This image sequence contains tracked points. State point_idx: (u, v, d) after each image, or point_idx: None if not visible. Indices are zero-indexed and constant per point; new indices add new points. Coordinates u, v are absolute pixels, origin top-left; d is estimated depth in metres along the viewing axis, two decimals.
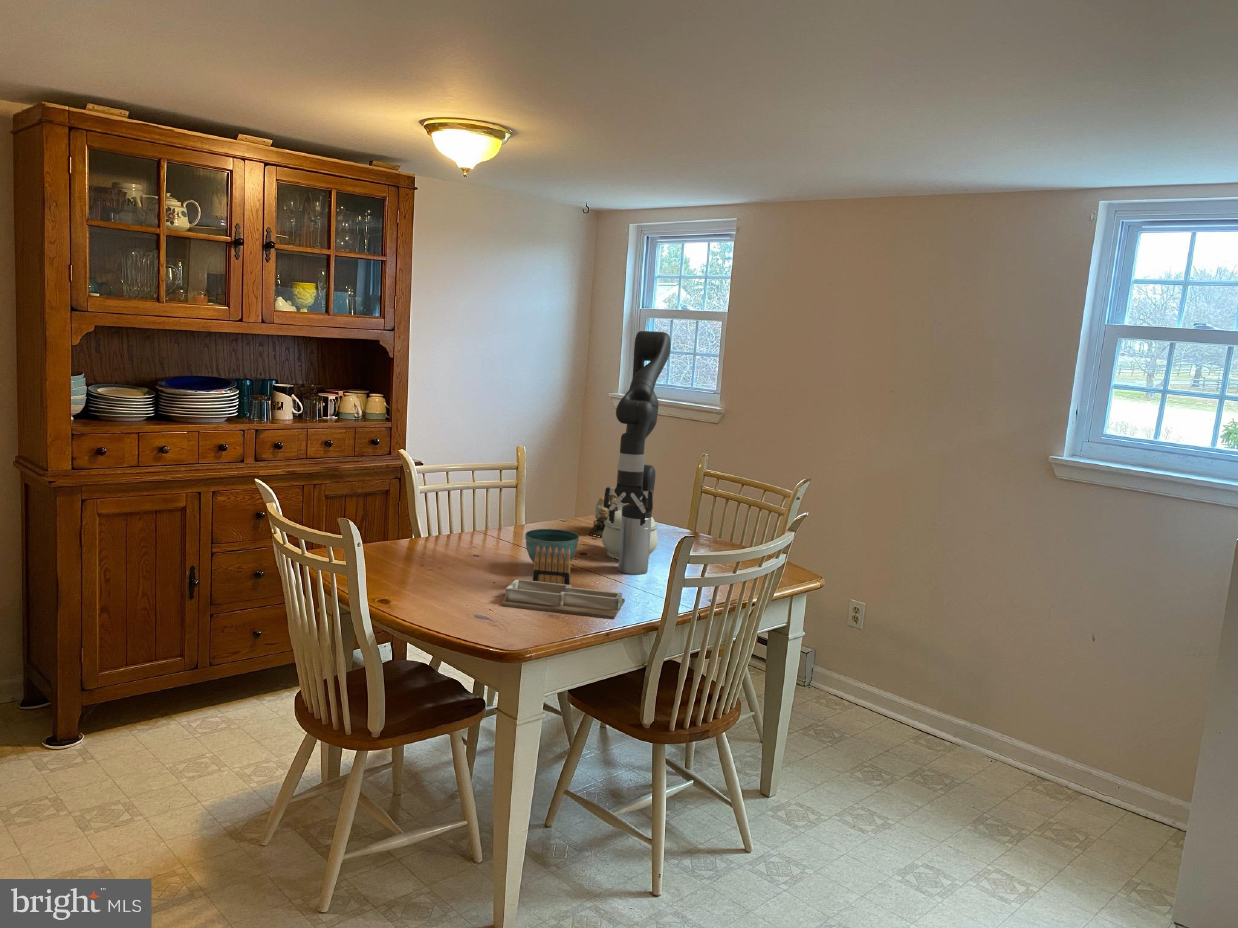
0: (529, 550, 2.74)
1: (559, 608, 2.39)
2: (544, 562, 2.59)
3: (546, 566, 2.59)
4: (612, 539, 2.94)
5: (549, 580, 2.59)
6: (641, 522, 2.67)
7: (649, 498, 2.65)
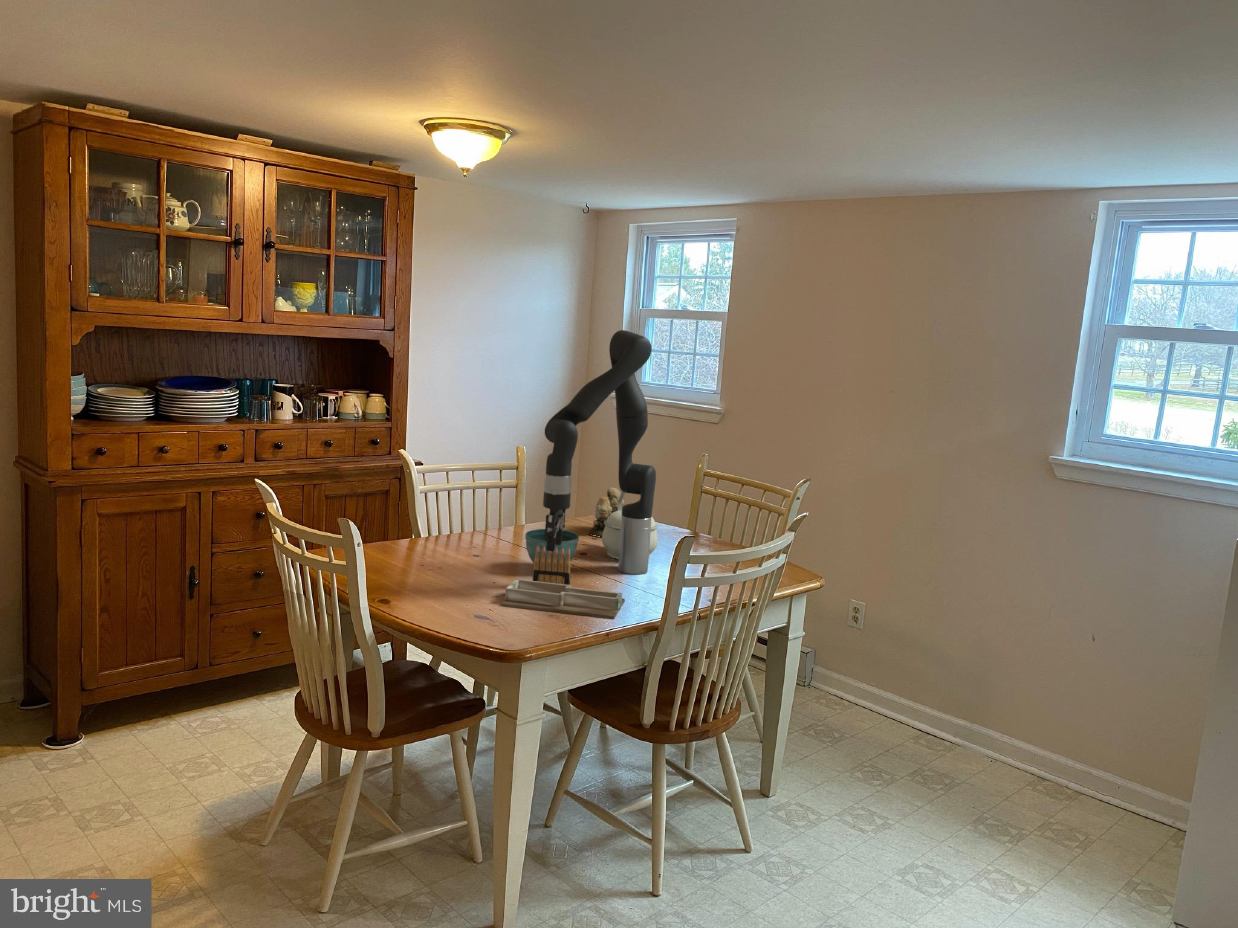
0: (529, 550, 2.74)
1: (559, 608, 2.39)
2: (544, 562, 2.59)
3: (546, 566, 2.59)
4: (612, 539, 2.94)
5: (549, 580, 2.59)
6: (561, 541, 2.62)
7: (564, 515, 2.63)
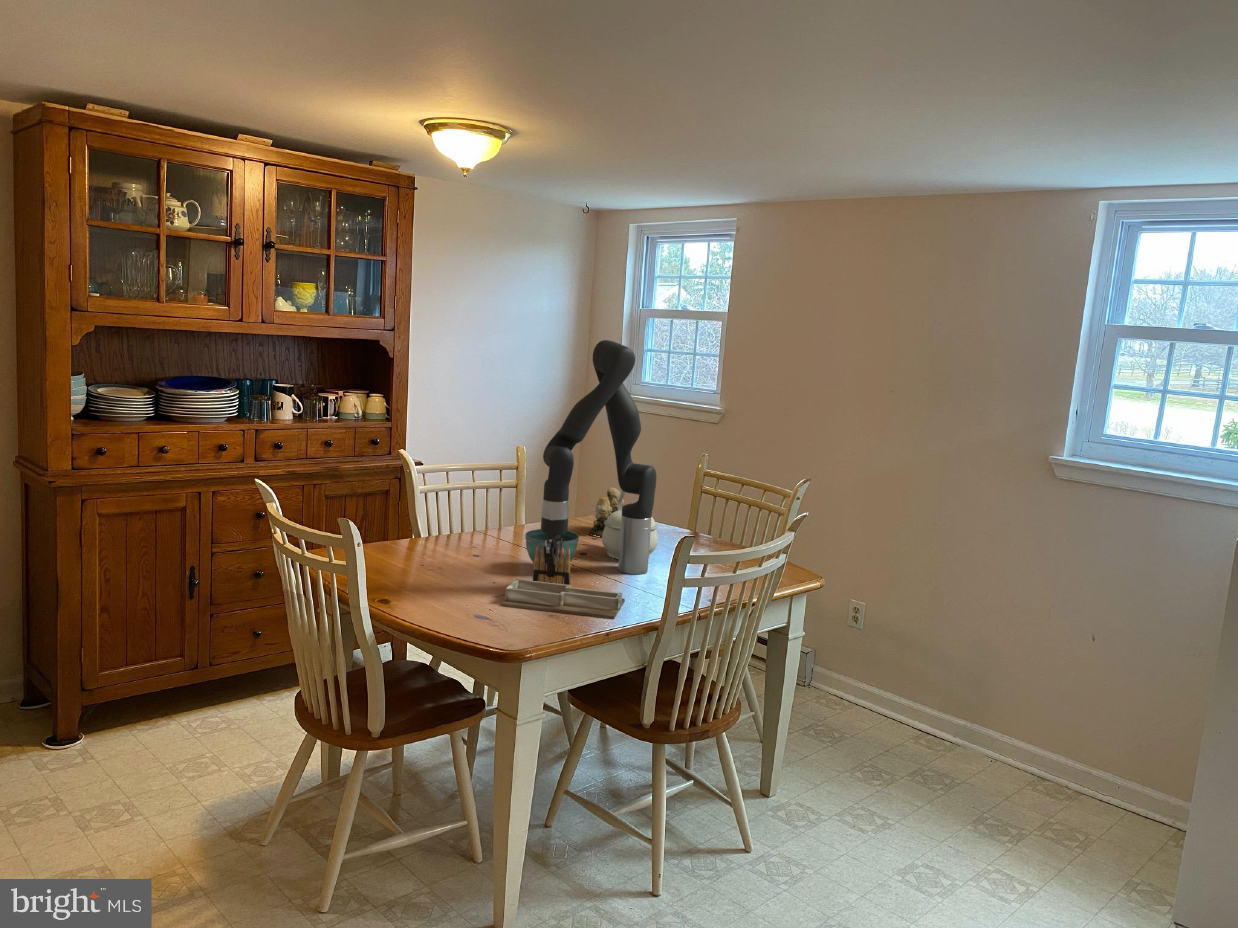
0: (529, 550, 2.74)
1: (559, 608, 2.39)
2: (544, 562, 2.59)
3: (546, 566, 2.59)
4: (612, 539, 2.94)
5: (549, 579, 2.59)
6: None
7: (561, 544, 2.63)
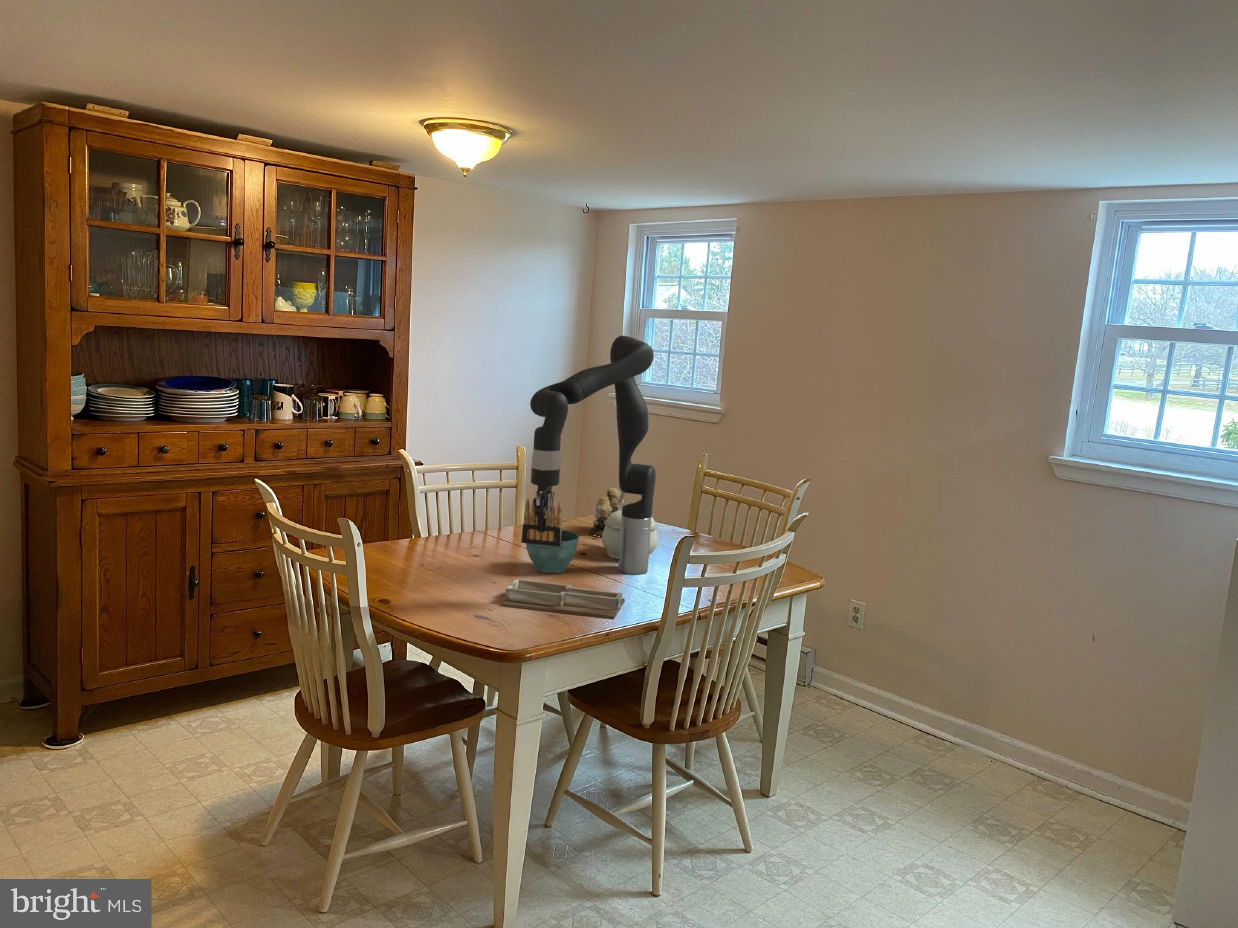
0: (529, 550, 2.74)
1: (559, 608, 2.39)
2: (534, 516, 2.44)
3: None
4: (612, 539, 2.94)
5: (539, 535, 2.44)
6: None
7: (552, 499, 2.48)
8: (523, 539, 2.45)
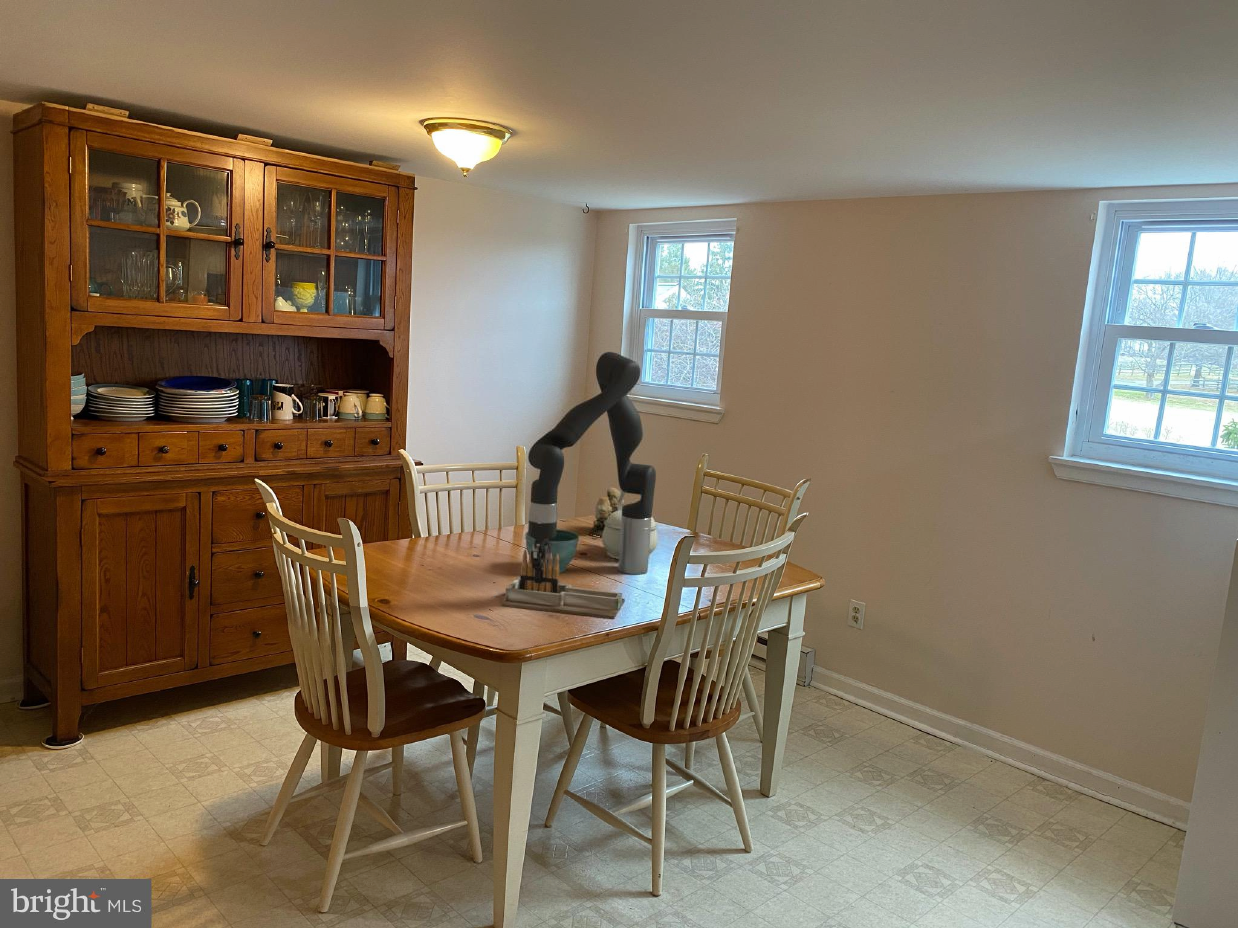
0: (529, 550, 2.74)
1: (559, 608, 2.39)
2: (531, 567, 2.46)
3: (534, 572, 2.46)
4: (612, 539, 2.94)
5: (537, 586, 2.46)
6: None
7: (550, 549, 2.50)
8: None
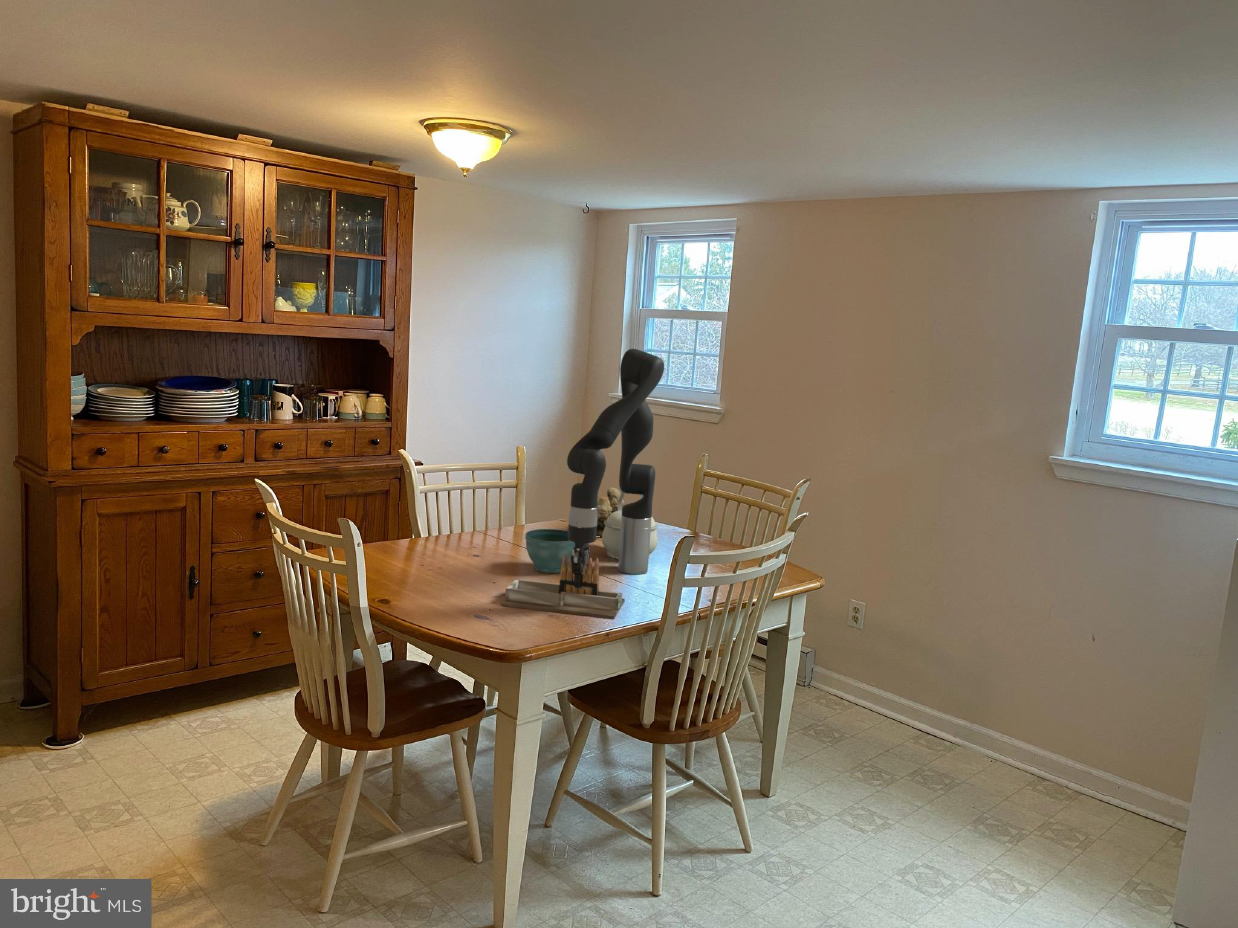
0: (529, 550, 2.74)
1: (559, 608, 2.39)
2: (571, 572, 2.44)
3: (573, 577, 2.44)
4: (612, 539, 2.94)
5: (576, 590, 2.45)
6: None
7: (589, 553, 2.48)
8: None
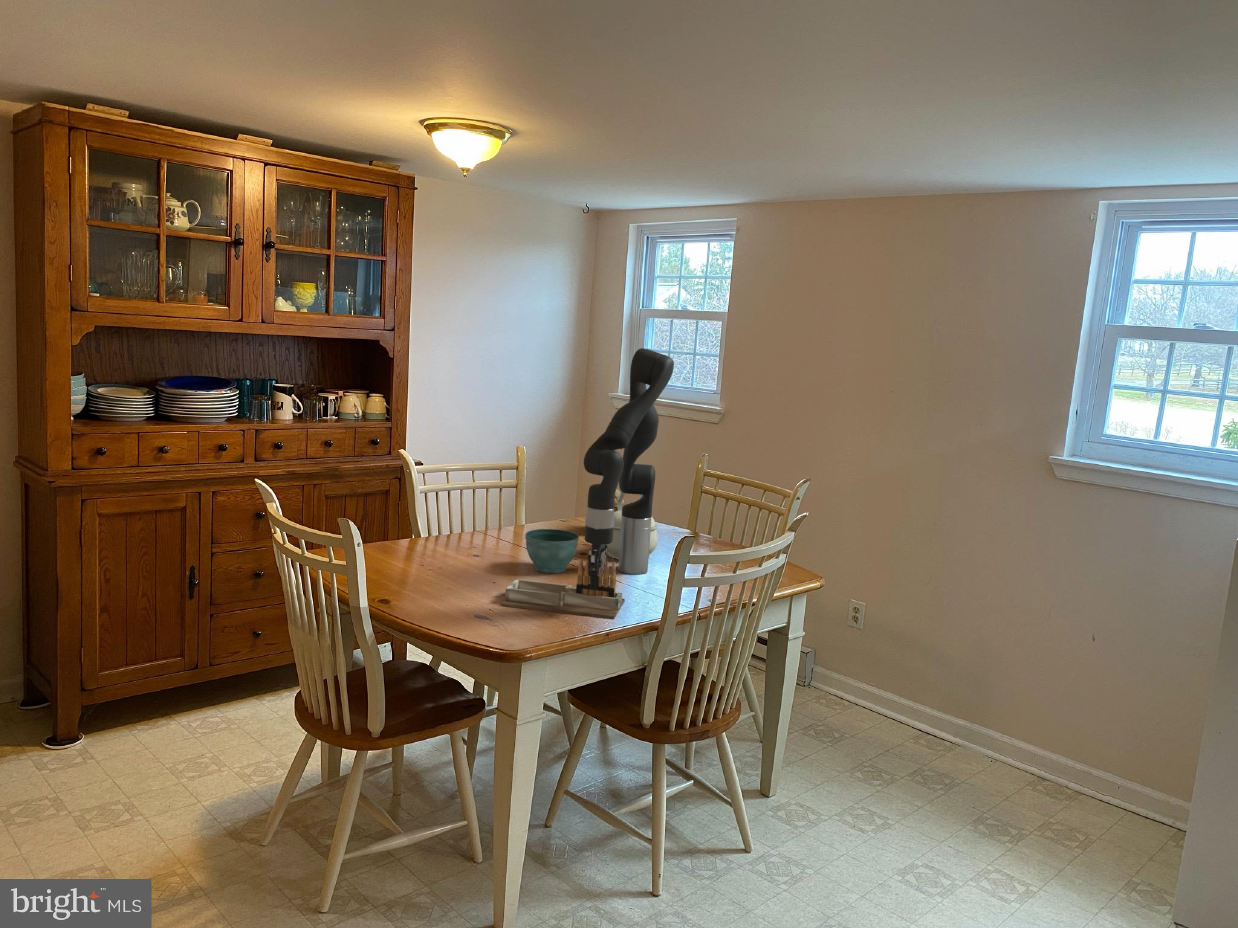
0: (529, 550, 2.74)
1: (559, 608, 2.39)
2: (588, 576, 2.44)
3: None
4: None
5: None
6: None
7: None
8: None
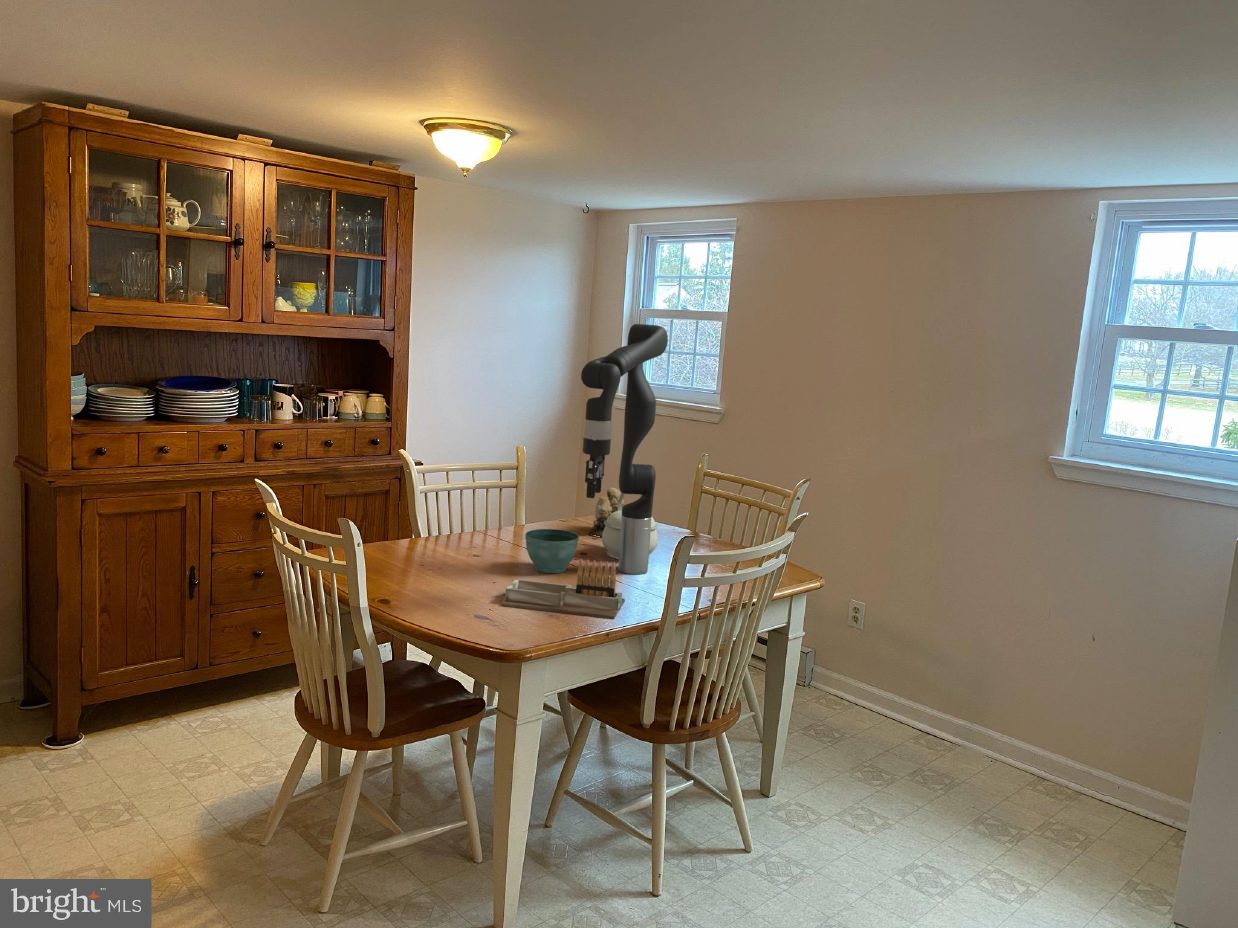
0: (529, 550, 2.74)
1: (559, 608, 2.39)
2: (588, 576, 2.44)
3: (590, 581, 2.44)
4: (612, 539, 2.94)
5: None
6: (600, 489, 2.56)
7: (604, 462, 2.57)
8: None
